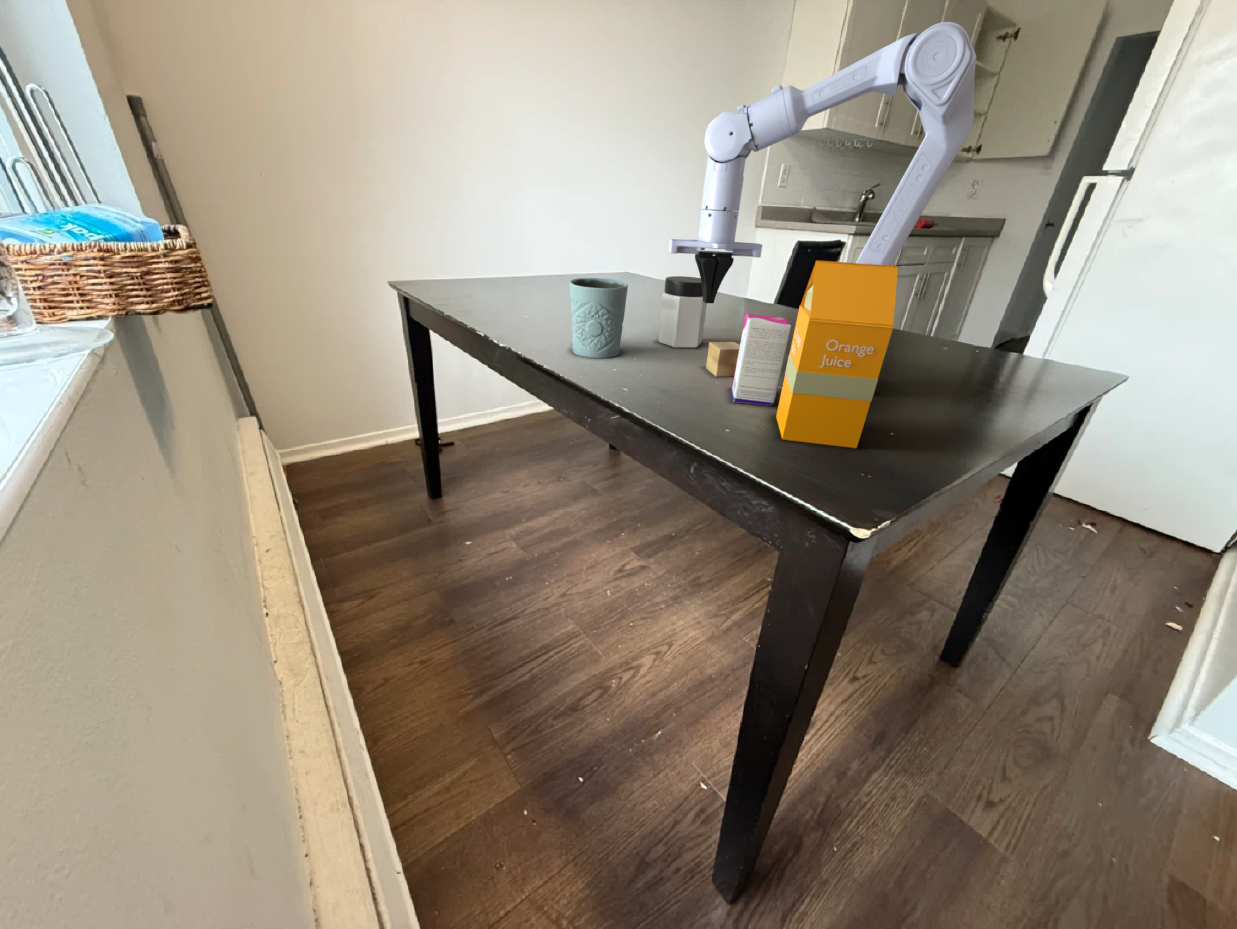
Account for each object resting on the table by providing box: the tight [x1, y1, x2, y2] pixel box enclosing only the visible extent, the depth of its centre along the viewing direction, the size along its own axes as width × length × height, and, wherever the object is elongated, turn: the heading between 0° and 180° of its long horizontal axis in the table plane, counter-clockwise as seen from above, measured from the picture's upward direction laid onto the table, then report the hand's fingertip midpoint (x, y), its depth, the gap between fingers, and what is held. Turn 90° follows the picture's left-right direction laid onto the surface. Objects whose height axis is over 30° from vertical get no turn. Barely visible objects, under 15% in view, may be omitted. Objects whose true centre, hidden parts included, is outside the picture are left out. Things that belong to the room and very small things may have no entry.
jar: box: [658, 275, 708, 349], centre depth 98 cm, size 9×8×12 cm
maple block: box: [705, 341, 740, 378], centre depth 84 cm, size 4×4×4 cm
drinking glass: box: [568, 277, 629, 359], centre depth 89 cm, size 10×10×12 cm
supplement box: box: [731, 313, 792, 407], centre depth 72 cm, size 6×6×12 cm
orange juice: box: [775, 259, 899, 449], centre depth 60 cm, size 8×9×20 cm
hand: (708, 302), depth 84 cm, fingers closed
